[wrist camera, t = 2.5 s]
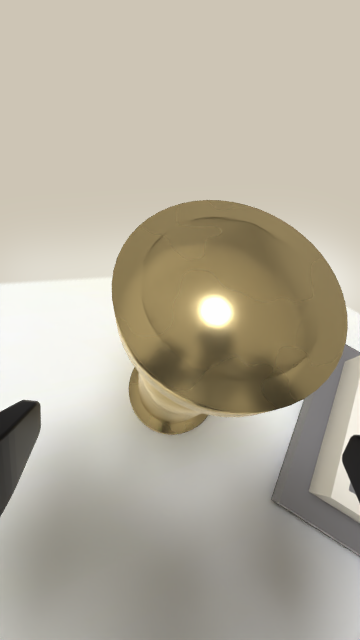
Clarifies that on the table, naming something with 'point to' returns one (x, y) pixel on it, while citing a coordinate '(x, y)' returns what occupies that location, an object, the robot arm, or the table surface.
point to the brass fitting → (223, 314)
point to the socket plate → (325, 456)
